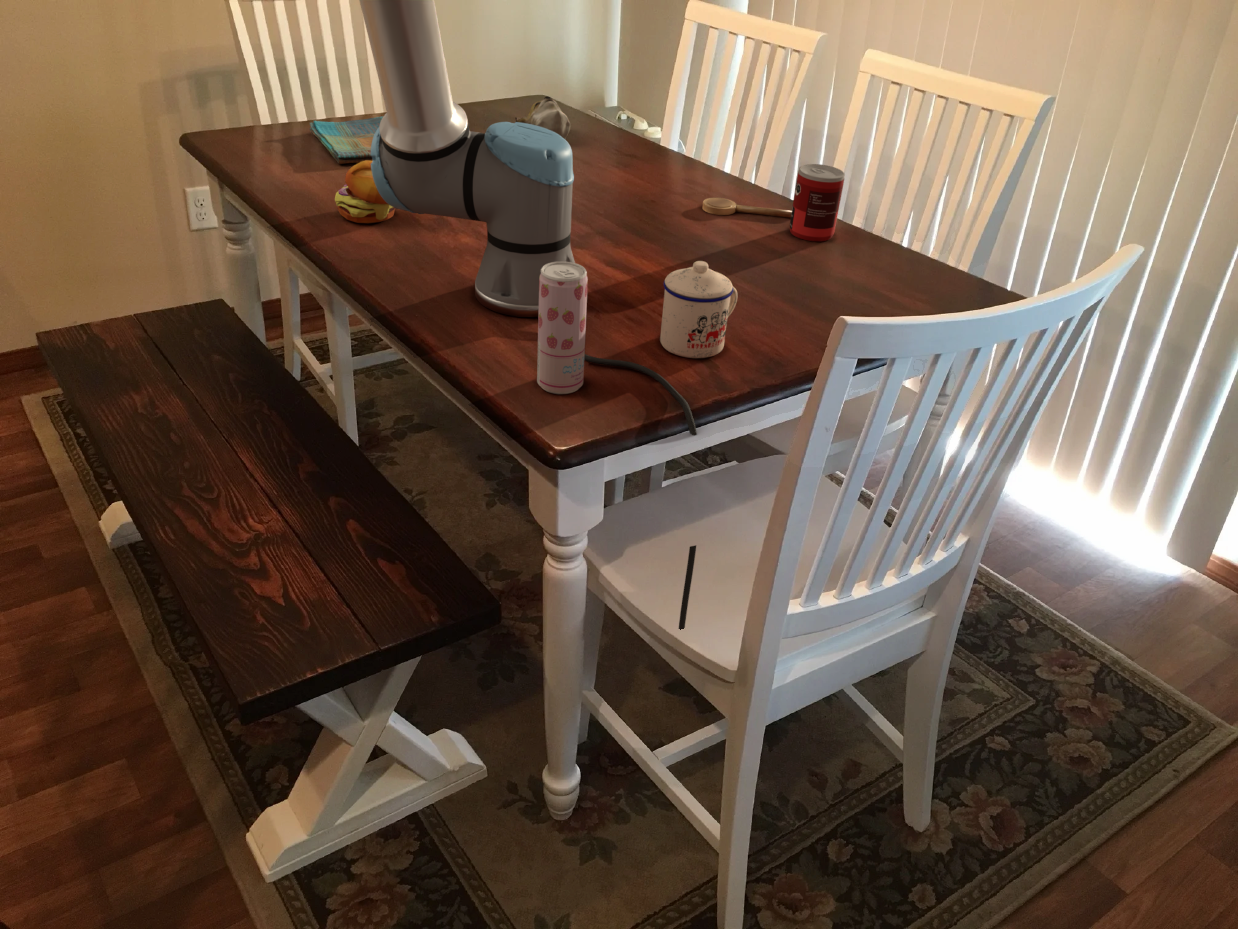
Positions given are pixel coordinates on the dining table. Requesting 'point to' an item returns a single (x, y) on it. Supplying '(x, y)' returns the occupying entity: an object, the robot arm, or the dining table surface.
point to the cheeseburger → (362, 197)
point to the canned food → (816, 202)
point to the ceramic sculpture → (547, 117)
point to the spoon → (738, 208)
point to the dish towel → (347, 138)
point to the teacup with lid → (696, 311)
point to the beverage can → (561, 327)
